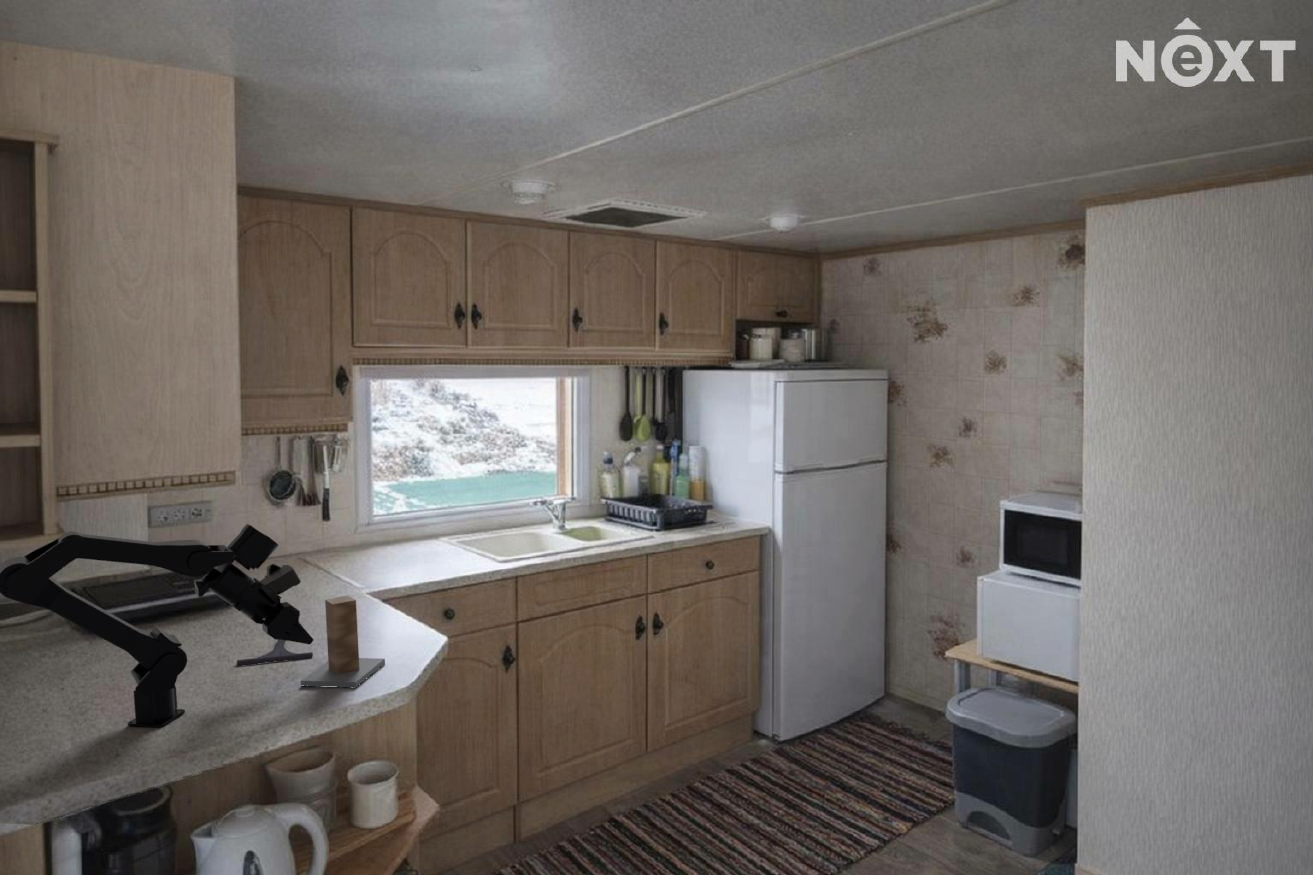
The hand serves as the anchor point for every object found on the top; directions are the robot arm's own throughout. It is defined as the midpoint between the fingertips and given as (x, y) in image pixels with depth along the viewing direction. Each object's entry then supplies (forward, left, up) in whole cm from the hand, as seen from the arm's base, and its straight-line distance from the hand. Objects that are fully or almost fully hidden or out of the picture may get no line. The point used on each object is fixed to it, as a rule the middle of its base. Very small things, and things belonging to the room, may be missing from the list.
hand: (304, 636), depth 166 cm
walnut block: (+5, -5, -8) cm, 11 cm away
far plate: (+5, -5, -9) cm, 12 cm away
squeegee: (+18, +16, -10) cm, 26 cm away
